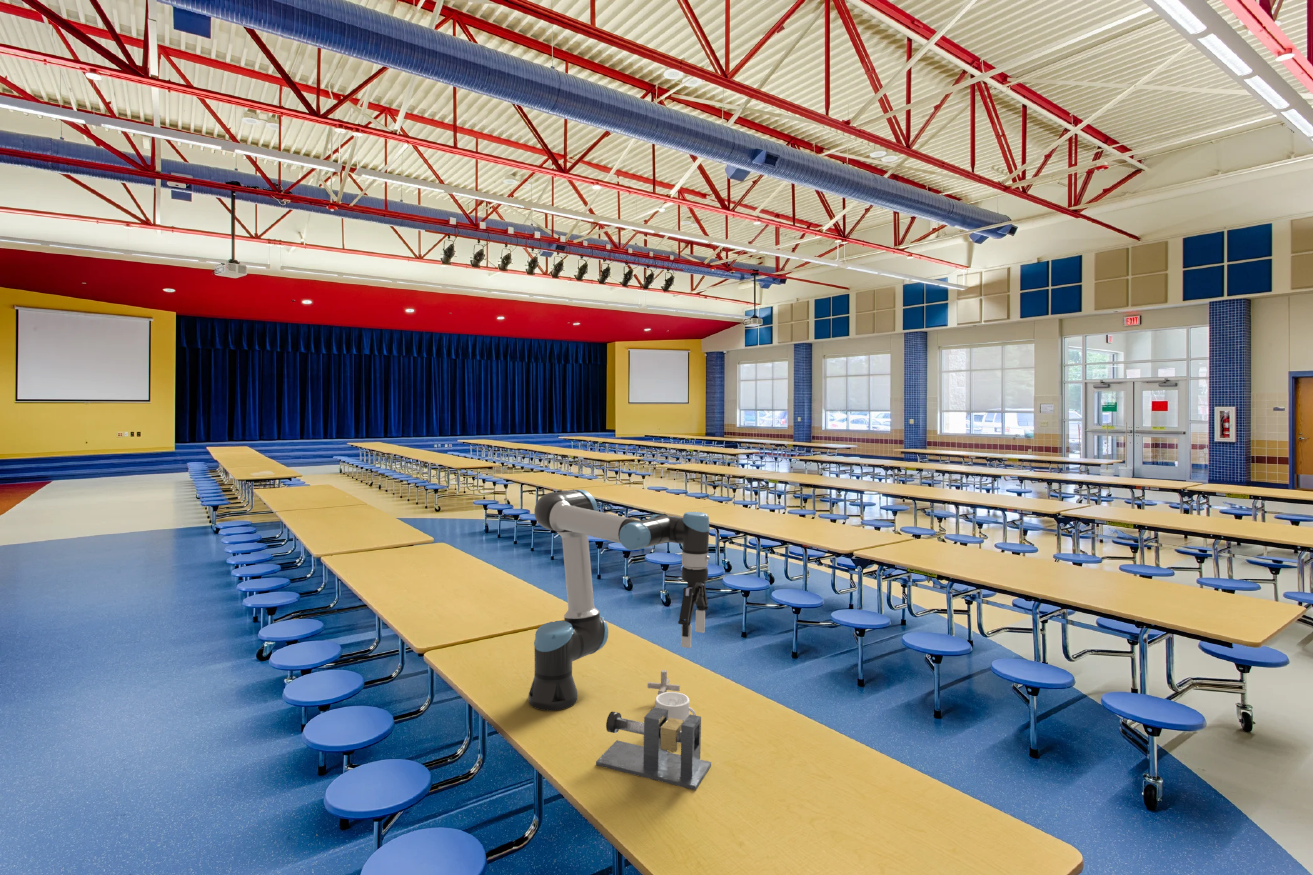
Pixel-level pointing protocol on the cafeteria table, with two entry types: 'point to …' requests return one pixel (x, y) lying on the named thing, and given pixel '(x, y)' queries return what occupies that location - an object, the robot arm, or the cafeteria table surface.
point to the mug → (674, 705)
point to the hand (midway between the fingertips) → (693, 639)
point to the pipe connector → (663, 684)
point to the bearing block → (661, 754)
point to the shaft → (628, 725)
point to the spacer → (670, 734)
